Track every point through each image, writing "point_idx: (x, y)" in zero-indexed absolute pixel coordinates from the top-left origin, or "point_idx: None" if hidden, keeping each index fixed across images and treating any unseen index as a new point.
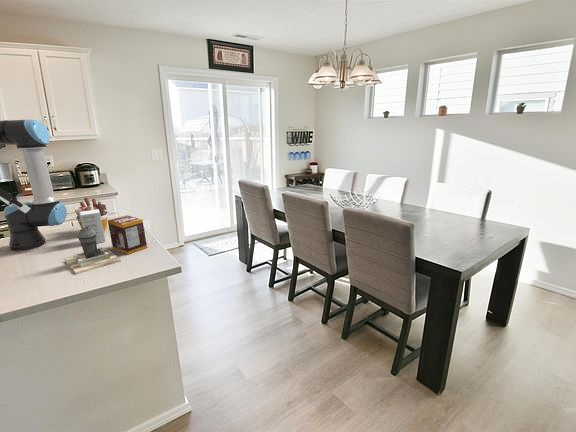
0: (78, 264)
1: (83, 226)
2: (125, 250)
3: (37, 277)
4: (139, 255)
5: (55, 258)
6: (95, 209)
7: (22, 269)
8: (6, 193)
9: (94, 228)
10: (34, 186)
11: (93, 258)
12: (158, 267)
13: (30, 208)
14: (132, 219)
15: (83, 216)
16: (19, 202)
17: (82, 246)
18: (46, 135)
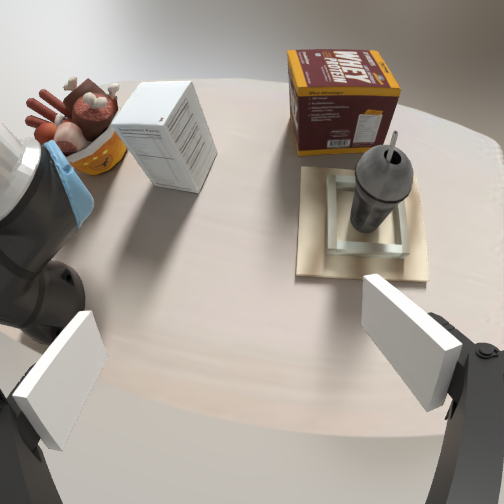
0: (377, 258)
1: (391, 156)
2: (373, 146)
3: (367, 363)
4: (404, 142)
5: (237, 289)
6: (98, 97)
7: (254, 382)
8: None
9: (197, 137)
10: None
11: (406, 219)
12: (487, 157)
13: (379, 276)
14: (360, 58)
15: (169, 122)
16: (461, 334)
17: (383, 214)
18: None
